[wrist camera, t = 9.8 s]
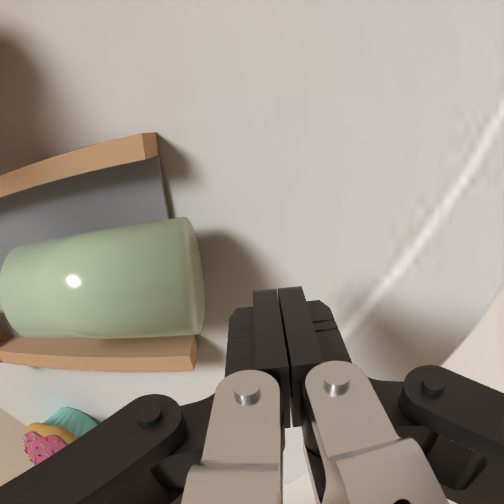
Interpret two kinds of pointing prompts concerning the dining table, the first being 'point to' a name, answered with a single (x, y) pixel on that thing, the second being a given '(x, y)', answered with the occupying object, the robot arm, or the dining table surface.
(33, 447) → the cupcake
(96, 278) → the bottle
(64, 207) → the wooden shallow tray
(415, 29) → the dining table surface
